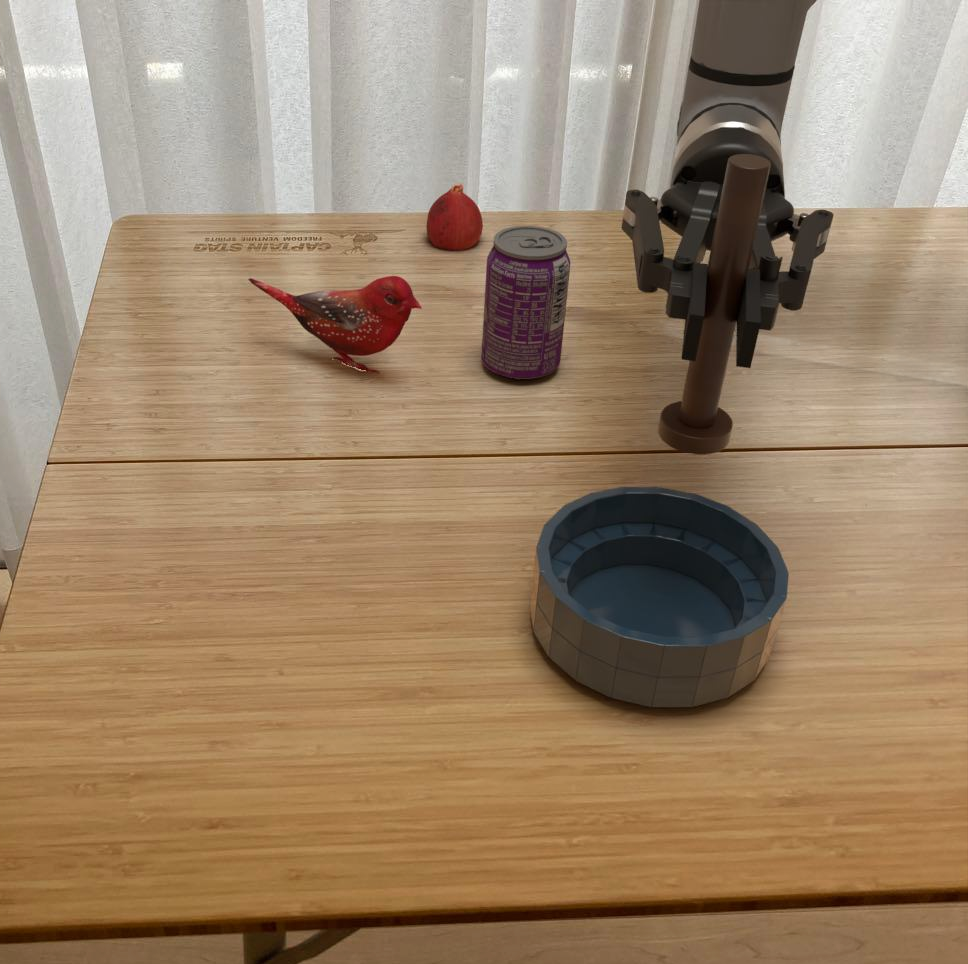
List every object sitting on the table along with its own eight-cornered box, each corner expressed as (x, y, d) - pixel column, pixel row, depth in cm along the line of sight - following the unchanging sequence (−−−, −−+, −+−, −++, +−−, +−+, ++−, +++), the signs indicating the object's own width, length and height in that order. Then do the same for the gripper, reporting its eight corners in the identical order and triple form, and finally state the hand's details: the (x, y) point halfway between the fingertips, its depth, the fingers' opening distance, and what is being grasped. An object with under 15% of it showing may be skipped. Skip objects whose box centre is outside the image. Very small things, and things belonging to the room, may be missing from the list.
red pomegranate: (439, 273, 115) (441, 198, 110) (417, 251, 119) (418, 178, 114) (489, 264, 117) (494, 189, 112) (466, 242, 121) (469, 170, 116)
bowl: (774, 579, 78) (793, 511, 74) (759, 741, 66) (781, 671, 62) (556, 535, 81) (564, 468, 78) (505, 683, 70) (511, 612, 66)
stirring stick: (732, 422, 70) (794, 152, 59) (726, 460, 67) (790, 181, 56) (662, 410, 71) (711, 142, 60) (653, 447, 68) (703, 170, 57)
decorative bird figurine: (412, 396, 96) (414, 290, 90) (244, 346, 102) (234, 243, 96) (428, 381, 98) (430, 276, 92) (262, 333, 104) (254, 232, 98)
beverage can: (548, 344, 104) (560, 221, 96) (568, 383, 98) (583, 255, 91) (473, 349, 103) (480, 225, 95) (490, 389, 97) (498, 260, 90)
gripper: (826, 244, 78) (850, 420, 60) (609, 220, 80) (570, 383, 62) (854, 136, 73) (890, 293, 55) (623, 115, 76) (584, 258, 58)
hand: (720, 341), depth 59 cm, fingers closed on stirring stick, 2 cm apart
